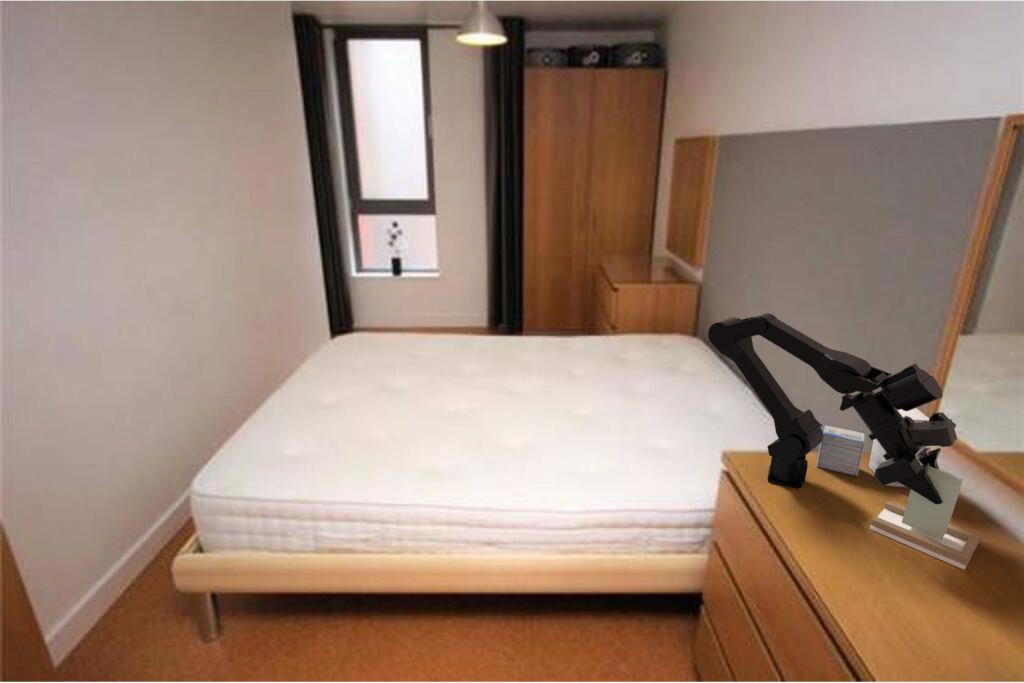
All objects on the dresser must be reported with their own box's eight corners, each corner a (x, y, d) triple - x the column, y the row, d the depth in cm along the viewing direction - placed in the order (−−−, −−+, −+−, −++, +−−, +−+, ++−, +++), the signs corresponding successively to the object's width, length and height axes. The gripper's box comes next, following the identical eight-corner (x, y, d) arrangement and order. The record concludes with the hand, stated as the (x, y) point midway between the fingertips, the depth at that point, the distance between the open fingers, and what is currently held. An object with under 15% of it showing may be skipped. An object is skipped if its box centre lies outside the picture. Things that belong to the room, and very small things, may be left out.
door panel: (901, 522, 98) (915, 470, 94) (907, 514, 100) (921, 463, 96) (941, 539, 93) (958, 485, 90) (947, 530, 96) (963, 477, 92)
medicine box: (857, 467, 119) (865, 433, 116) (857, 477, 115) (865, 441, 112) (817, 458, 123) (824, 424, 120) (815, 467, 119) (822, 432, 116)
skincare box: (917, 489, 111) (935, 421, 106) (881, 486, 112) (898, 419, 107) (898, 467, 118) (914, 403, 113) (865, 465, 120) (879, 401, 115)
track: (869, 528, 99) (871, 520, 99) (887, 506, 105) (889, 499, 105) (964, 569, 89) (967, 561, 89) (978, 542, 95) (980, 534, 95)
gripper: (912, 419, 86) (981, 509, 82) (943, 387, 98) (1005, 465, 93) (849, 443, 94) (908, 526, 90) (884, 412, 106) (938, 484, 102)
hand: (942, 499), depth 94 cm, fingers closed on door panel, 3 cm apart
